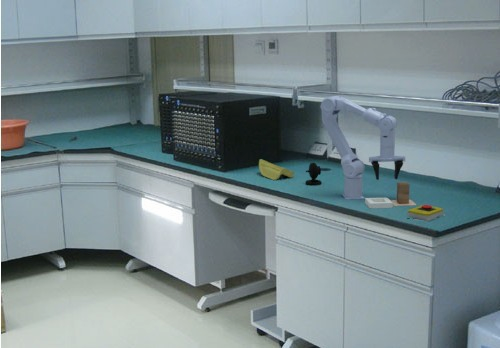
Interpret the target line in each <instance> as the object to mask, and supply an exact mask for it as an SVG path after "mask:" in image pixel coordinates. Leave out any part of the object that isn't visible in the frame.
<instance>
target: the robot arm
mask: <svg viewBox="0 0 500 348" xmlns="http://www.w3.org/2000/svg"><path fill="white" fill-rule="evenodd" d="M319 108H320V109H321V121H322V124H323V127H324V128H325V130H326V132H327V134H328V136H329V137H330V139H331V141H332V143H333V145H334V147H335V149H336V151H337V153H338V155H339V156H340V158H341V161H340V165H341V167H342V173H343V175H344V185H343V186H344V187H343V188H344V189H343V191H344V193H341V195H342V196H343V197H344V199H346V200H360V199H365V198H366V197H365V196H364V195H363V173H364V172H365V168H366V166H365V163H364V161H362V160H361V159H360V158H359V156H358V155H357V154H356V153H354V152H353V149H351V146H350V145H349V143H348V141H347V139H346V136H345V134H344V133H343V131H342V129H341V127H340V125H339V123H338V122H337V121H338V120H337V118H338V115H339V113H340V111H342V110H343V111H344V110H346V111H349V112H351V113H354V114H356V115H358V116H361V117H362V119H363V121H365V122H366V123H369V124H371V125H373V126H375V127H377V128H378V129H379V130H380V136H379V137H380V138H379V141H380V143H379V155H377V156H368V162H369V163H371V166H372V168H373V170H374V174H375V180H376V181H378V180H379V179H380V163H382V162H383V163H384V162H385V163H386V162H387V163H388V162H393V164H394V179H395V180H398V178H399V175H400V171H401V169H402V167H403V165H404V162H406V156H405V155H395V142H396V138H395V136H396V133H395V131H396V128H397V125H398V122H397V118H396V117H394V116H393V115H387V113H385V112H384V113H383V112H380V111H378V110H377V108H375V107H372V108H371V107H369V108H365V107H363V106H361V105H359V104H357V103H356V102H353V101H351V100H349V99H347V98H346V97H344V96H343V97H342V96H341V95H333V96H326V97H325V98H323V100H322V101H321V103H320V107H319Z"/></svg>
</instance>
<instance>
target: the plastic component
mask: <svg viewBox="0 0 500 348" xmlns="http://www.w3.org/2000/svg"><path fill="white" fill-rule="evenodd" d="M258 169H259V172H260V174H261V175H262V176H263V177H265V178H268V179H271V180H273V181H277V180H278V179H279V178H280V177H281V176H285V177H287V178H293V176H294V174H295V171H292V170H290V169H288V168H285V167H282V166H279V165H277V164H275V163H271V162H269V161H267V160H264V159H262V158H261V159H259V161H258Z"/></svg>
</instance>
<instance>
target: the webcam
mask: <svg viewBox="0 0 500 348" xmlns="http://www.w3.org/2000/svg"><path fill="white" fill-rule="evenodd" d="M305 173H308V174H309V178H310V179H307V180H305V184H306V185H308V186H319V185H322V184H323V183H322V181H321V180H320V179H317V178H318V176H319V175H321V174H322V168H321V166H320V165H318V164H317V163H315V162H310V163H309V166H308V170H305Z"/></svg>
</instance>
